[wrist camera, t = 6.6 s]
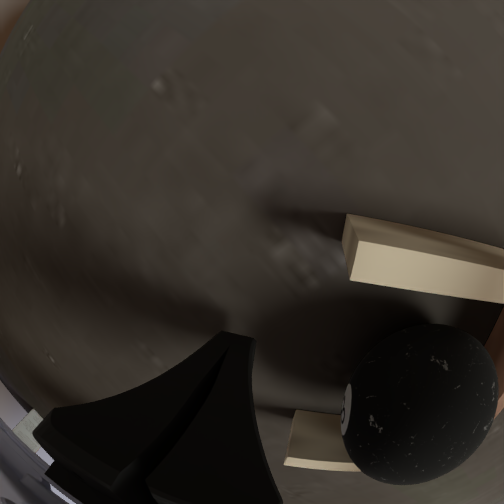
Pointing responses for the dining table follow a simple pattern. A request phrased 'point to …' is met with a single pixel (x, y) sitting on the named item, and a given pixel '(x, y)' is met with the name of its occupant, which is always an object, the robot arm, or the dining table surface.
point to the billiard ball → (419, 404)
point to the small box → (29, 429)
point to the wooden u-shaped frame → (412, 278)
